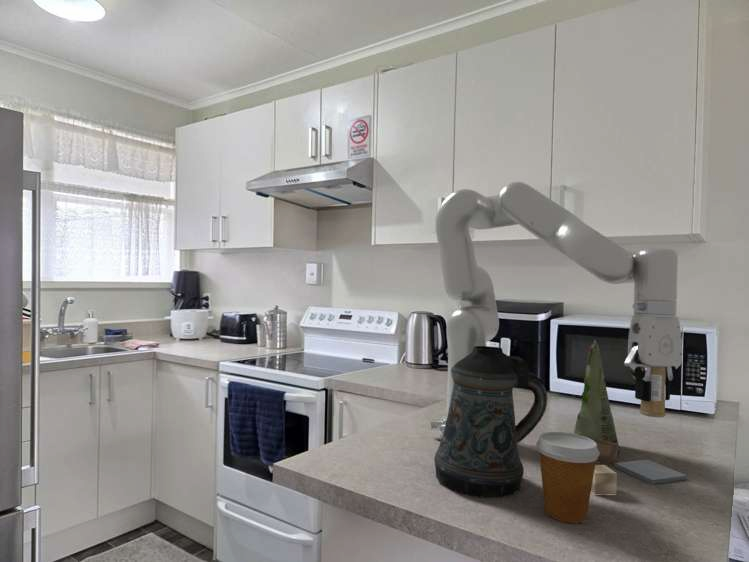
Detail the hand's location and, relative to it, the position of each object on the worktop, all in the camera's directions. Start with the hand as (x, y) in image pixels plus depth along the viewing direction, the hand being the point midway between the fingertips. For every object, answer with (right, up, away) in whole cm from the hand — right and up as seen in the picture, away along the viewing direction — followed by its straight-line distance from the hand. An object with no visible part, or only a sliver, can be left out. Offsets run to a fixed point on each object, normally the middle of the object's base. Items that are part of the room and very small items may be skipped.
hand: (652, 398), depth 97 cm
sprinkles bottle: (0, -4, 0) cm, 4 cm away
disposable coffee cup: (-26, -14, -20) cm, 35 cm away
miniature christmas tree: (-5, -15, +15) cm, 22 cm away
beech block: (-15, -15, -10) cm, 23 cm away
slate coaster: (-1, -15, 0) cm, 15 cm away
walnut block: (-7, -15, +6) cm, 18 cm away
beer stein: (-36, -14, -6) cm, 39 cm away
